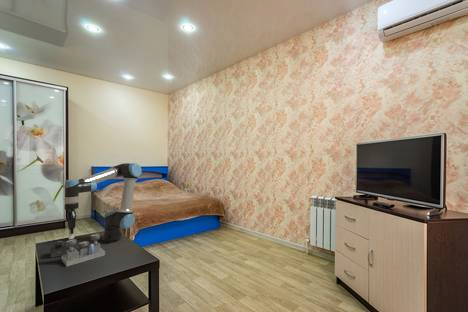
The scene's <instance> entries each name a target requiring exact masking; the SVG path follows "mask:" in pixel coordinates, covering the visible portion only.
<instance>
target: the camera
mask: <svg viewBox="0 0 468 312" xmlns="http://www.w3.org/2000/svg"><path fill="white" fill-rule="evenodd" d="M66 250H70V247H67V246H66V241H64V240H58V241H57V242H56V243H55V244H54V245H52V247H51V248H50V252H49V253H50V254H49V255H50V258H52V259H53V258H57V257H62V255H66Z"/></svg>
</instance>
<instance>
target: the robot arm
mask: <svg viewBox="0 0 468 312" xmlns="http://www.w3.org/2000/svg"><path fill="white" fill-rule="evenodd" d="M141 175H142V167H141V166H140V164H138V163H133V162H131V163H130V162H129V163H128V162H126V163H120V164H118V165H115V166H111V167H109V169H106V170H104V171H101V172H98V173H94V174H91V175H87V176H85V177H83V178H80V179H66V180H65V181H64V198H63V201H64V210H66V211H67V212H66V215H67V230H68V240H71V239H75V228H76V222H77V212H76V209H79V206H80V205H79V200H80V199H79V197H80V195H79V194H82V193H88V192H89V193H90V192H91V193H92V192H95V191H96V190H97V188H98V184H99V183H102V182H105V181H108V180H109V179H112V178H113V179H117V178H121V177H122V179H123V180H124V181H123V189H122V192H121V193H122V194H121V201H120V208H119V209H118V210H111V211H107V212H105V213H104V217H103V219H104V231H103V234H102V236H101V240H102V241H103V242H114V241H118V240H120V239H122V238H123V232H122V229H130V228H132V226H133V225H134V224H135V220H136V217H135V215H134V214H133V213H134V212H133V209H132V207H133V200H134V195H135V187H136V182H137V181H138V179H139V177H140V176H141Z"/></svg>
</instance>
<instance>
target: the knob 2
mask: <svg viewBox="0 0 468 312" xmlns="http://www.w3.org/2000/svg"><path fill="white" fill-rule="evenodd" d="M100 239H101V234H100V233H94V234H90V241H91V242H93V244H94V245H97V243H98V240H100Z"/></svg>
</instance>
